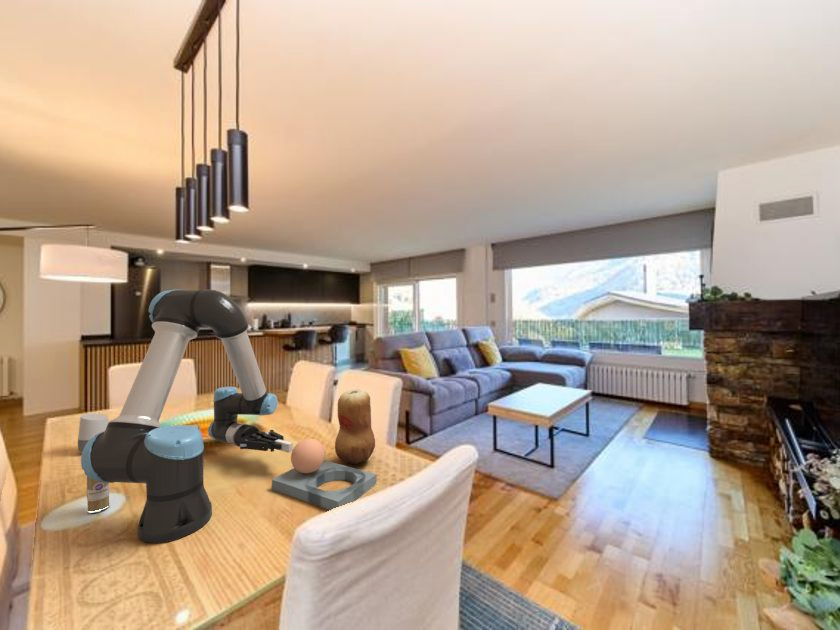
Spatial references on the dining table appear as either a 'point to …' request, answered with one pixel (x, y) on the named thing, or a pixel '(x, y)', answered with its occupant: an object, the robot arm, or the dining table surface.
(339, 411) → the butternut squash
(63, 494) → the dining table surface
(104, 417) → the smart speaker
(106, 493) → the sprinkles bottle
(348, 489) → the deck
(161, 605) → the dining table surface
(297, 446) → the ball
